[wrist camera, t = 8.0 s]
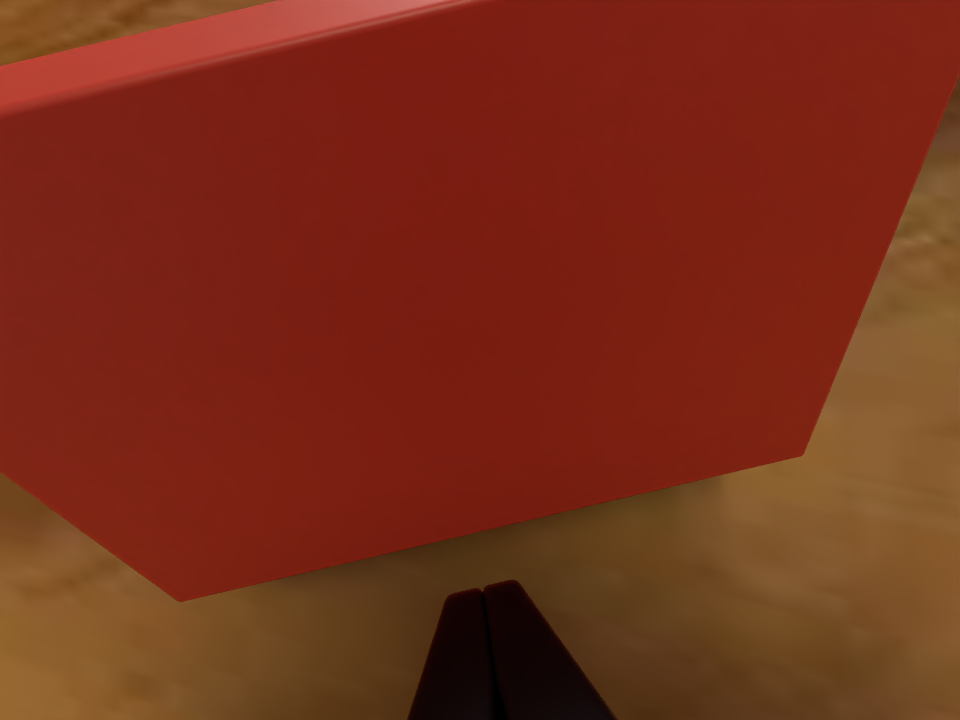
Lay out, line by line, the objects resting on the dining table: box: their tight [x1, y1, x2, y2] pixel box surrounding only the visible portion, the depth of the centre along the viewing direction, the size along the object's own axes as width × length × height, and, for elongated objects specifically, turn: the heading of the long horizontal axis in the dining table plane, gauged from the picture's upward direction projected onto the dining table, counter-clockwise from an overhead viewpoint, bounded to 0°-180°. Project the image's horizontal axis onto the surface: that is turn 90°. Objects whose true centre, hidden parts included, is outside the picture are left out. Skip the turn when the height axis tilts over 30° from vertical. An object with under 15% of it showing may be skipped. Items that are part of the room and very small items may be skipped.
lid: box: [0, 0, 960, 602], centre depth 11 cm, size 11×13×1 cm
